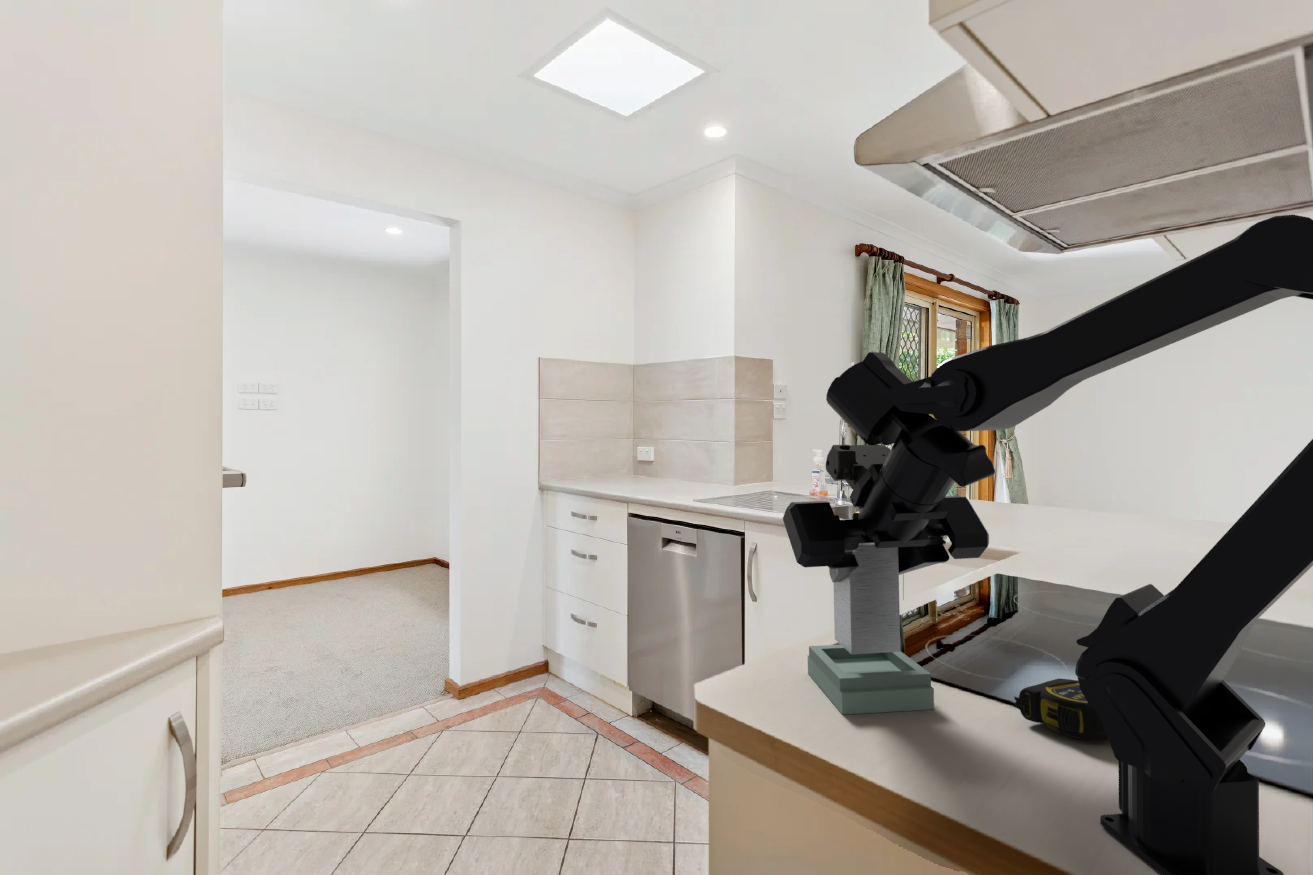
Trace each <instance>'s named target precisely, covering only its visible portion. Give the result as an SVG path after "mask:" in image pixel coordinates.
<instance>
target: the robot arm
mask: <svg viewBox="0 0 1313 875" xmlns="http://www.w3.org/2000/svg"><path fill="white" fill-rule="evenodd" d="M1290 297H1297V298H1303V299H1306V300H1313V219H1312V218H1311V217H1308V216H1303V215H1297V214H1285V215H1275V216H1272V217H1270V218H1266V219H1263V220H1260V221H1257V222H1256V223H1255V224H1252V225H1251V226H1250V227H1248V228H1247V229H1245V230H1243V232H1242V233H1241V234H1238V235H1237V236H1236V237H1235V238H1233V239H1230V240H1229V241H1227V242H1225V243H1223V244H1221V245H1219V246H1217V247H1215V248H1213V249H1211V250H1209V251H1208V250H1207V252H1205V253H1202V254H1200V255H1198V256H1196V257H1194V258H1192V259H1190V260H1188V261H1185V262H1184V263H1182V264H1180V265H1178V266H1175V267H1174V268H1171V269H1170V270H1168V271H1166V272H1164V273H1161V274H1160V275H1158V276H1155V277H1153V278H1151V279H1149V280H1148V281H1145V282H1143V283H1141V284H1138V285H1137V286H1135V287H1133V288H1131V289H1129V290H1127V291H1124V292H1123V293H1121V294H1119V295H1117V296H1115V297H1112V298H1111V299H1108V300H1106V301H1104V302H1102V303H1100V304H1098V305H1096V306H1094V307H1092V308H1090V309H1088V310H1085V312H1082V313H1080V314H1077V315H1075V316H1074V317H1071V318H1070V319H1068V320H1065V321H1064V322H1062V323H1059V324H1058V325H1055V326H1053V327H1052V328H1049V329H1047V330H1045V331H1044V332H1041V333H1037V334H1035V335H1031V336H1028V337H1024V338H1019V339H1015V340H1010V341H1006V342H1001V343H997V344H992V345H988V346H985V347H982V348H979V349H975V350H972V351H968V352H965V353H962V354H960V355H956V356H952V357H950V358H948V359H945V360H943V361H942V362H941V363H940V364H939V365H937V366H936V367H935V369H934V370H932V372H931V373H930V374H931V375H930V376H927V377H925V378H921V379H918V380H914V381H913V380H911V378H910V377H908V376H907V375H906V374H905V373H904V372H903V371H902V370H900V369H899V368H898V367H897V366H896V364H895V363H894V361H893V360H892V359H891V358H890V357H889V356H888V355H887V354H886V353H884V352H877V351H876V352H875V351H869V352H868V353H867V354H866V356H865V357H864V359H863V360H862V361H860V362H857V363H855V364H853V365H852V366H850V367H848V368H847V369H846V370H845V371H843V373H842V374H840V375H839V376H837V377H835V378H834V379H833V380H832V382H831V383H830V385H829V386H828V389H827V392H826V403H827V404H828V406H830V407H831V408H832V409H833V411H834V412H836V414H837V415H838V416H839V417H840V418H841V419H842V420H843V421H844V422H845V423H846V425H847V426H849V427H850V428H851V429H852V431H853V432H854V433H855V434H856V435H857V436H858V437H859V438H860V439H861V440H862V441H863V442H864V443H865V444H856V445H855V444H854V445H853V444H852V445H849V444H832V446H831V448H830V450H829V452H828V453H827V457H826V461H825V470H826V473H828V475H829V476H830V477H831V478H832V480H833V481H834V482H841V481H845V482H846V483H847V484H848V486H849V487H851V489H852V492H851V493H850V495H849V500H850V501H851V504H852V507H854V508H856V507H857V508H858V510H859V513H855V512H854V513H852V515H851V518H852V519H851V518H850V519H841V518H840V516H839V514H835V513H834V511H833V510H834V509H832V508H833V507H832V505H831V503H830V502H829V501H825V500H819V501H818V500H814V501H812V500H811V501H791V502H790V503H789V504H788V506H787V507H786V509H785V511H784V514H783V517H782V521H783V525H784V527H785V530H786V534H787V536H788V540H789V543H790V545H791V548H792V551H793V555H794V557H795V558H794V559H795V560H796V563H797V564H798V565H800V566H801V567H803V568H817V567H828V569H829V571H828V572H829V577H830V579H831V582H832V583H833V582H838V581H839V580H841V579H843V578H844V577H845V576H847V575H848V574H849V573H851V572H852V571H853V570H855V569H856V568H857V567H858V566H859V565H858V562H857V560H856V558H855V555H854V552H855V551H856V550H857V548H858V545H874V544H875V546H876V548H894V547H898V564H899V576H900V575H903V574H907V573H909V572H912V571H913V572H914V571H916V570H919V569H923V568H926V567H931V566H934V565H938V564H944V563H947V562H948V561H949V560H950V556H951V558H953V559H954V560H962V559H978V558H979V559H980V557H981V556H982V555H983V553H984V552H985V551H986V549H987V548H988V547H989V543H990V534H989V532H988V530H987V529H986V527H985V525H984V524H983V522H982V521H981V518H980V517H979V515H978V513H977V512H976V510H975V509H974V507H973V506H972V503H971V502H970V500H969V499H968V497H967V496H961V495H948V493H949V492H950V490H951V488H952V487H953V486H954V484H955V483H956V484H957V485H958V486H959V487H960V488H961V487H962V488H964V487H967V486H969V485H970V486H971V485H972V484H975V483H978V482H980V481H982V480H985V479H987V478H990V477H992V476H994V475H995V473H996V469H995V467H994V464H993V461H992V460H991V459H990V458H989V456H988V454H987V448H986V446H985V445H983V444H979V445H976V444H974V443H973V442H972V441H971V440H970V439H969V438H967V436H965V434H963V433H962V432H979V431H983V432H984V431H1002V430H1008V429H1011V428H1014V427H1016V426H1018V425H1019V424H1022V423H1023V422H1024V421H1026V420H1028V419H1029V418H1030V417H1032V416H1034V415H1036V414H1037V413H1039V412H1041V411H1042V410H1045V409H1047V408H1048V407H1050V406H1051V405H1052V404H1053V403H1054V402H1055V401H1057V400H1058V399H1059V398H1060V397H1062V396H1063V395H1064V394H1065V393H1067V391H1069V390H1070V389H1072V388H1074V387H1075V386H1077V385H1078V384H1080V383H1081V382H1083V381H1085V380H1088V379H1089V378H1092V377H1094V376H1097V375H1100V374H1102V373H1104V372H1106V371H1109V370H1111V369H1114V368H1116V367H1119V366H1121V365H1124V364H1126V363H1128V362H1131V361H1133V360H1136V359H1139V358H1140V357H1143V356H1146V355H1148V354H1151V353H1153V352H1155V351H1158V350H1160V349H1163V348H1165V347H1167V346H1170V345H1172V344H1175V343H1177V342H1180V341H1182V340H1185V339H1187V338H1189V337H1192V336H1195V335H1197V334H1199V333H1201V332H1203V331H1206V330H1209V329H1211V328H1214V327H1216V326H1218V325H1221V324H1223V323H1226V322H1228V321H1230V320H1232V319H1233V320H1234V319H1236V318H1238V317H1240V316H1243V315H1246V314H1247V313H1250V312H1253V311H1255V310H1258V309H1259V308H1263V307H1264V306H1267V305H1269V304H1272V303H1274V302H1276V301H1279V300H1283V299H1286V298H1290ZM891 445H892V447H891V448H890V447H887V446H891ZM947 539H949V541H950V543H951V545H950V546H949V547H948V548H947V549H946V547H945V545H946V543H947V541H946V540H947ZM949 554H950V555H949ZM1312 567H1313V438H1312V439H1311V440H1310V441H1309V442H1308V443H1307V444H1306V445H1305V446H1304V447H1303V449H1302V450H1301V451H1300V452H1299V453H1297V455H1296V456H1295V457H1294V459H1293V460H1291V462H1290V463H1288V465H1287V466H1286V467H1285V468H1284V469H1283V471H1282V472H1280V474H1279V475H1278V476H1277V477H1276V478H1275V479H1274V480H1273V481H1272V483H1271V484H1270V485H1269V486H1268V487H1267V488H1266V489H1265V490H1264V491H1263V492H1261V494H1260V495H1259V496H1258V497H1257V499H1256V500H1255V501H1254V502H1253V503H1252V504H1251V505H1250V506H1249V508H1247V510H1246V511H1245V512H1244V513H1243V514H1242V515H1241V516H1240V517H1239V518H1238V519H1237V520H1236V521H1235V522H1234V524H1233V525H1232V526H1231V527H1230V528H1229V529H1228V530H1227V531H1226V533H1225V534H1223V536H1222V537H1221V538H1220V539H1219V540H1218V541H1217V542H1216V543H1215V544H1214V545H1213V547H1212V548H1211V549H1210V550H1209V551H1208V552H1207V553H1206V554H1205V555H1204V556H1203V557H1202V558H1201V560H1200V561H1198V563H1197V564H1196V565H1195V566H1194V567H1193V568H1192V569H1191V570H1190V572H1188V573H1187V575H1186V576H1185V577H1184V578H1183V579H1182V580H1181V581H1180V582H1179V584H1177V585H1176V587H1175V588H1173V589H1172V590H1170V591H1169V592H1168V593H1166V594H1165V595H1164V594H1163V593H1162V592H1161V591H1160V590H1159V589H1158V588H1157V587H1155V585H1153V584H1152V583H1149V584H1146V585H1144V586H1142V587H1139V588H1137V589H1136V588H1135V589H1134V590H1132V591H1130V592H1127V593H1125V594H1123V595H1119V596H1118V597H1116V598H1114V600H1113V601H1112V602H1111V604H1110V606H1109V607H1108V608H1107V610H1106V612H1105V614H1104V616H1103V617H1102V620H1101V622H1099V624H1098V625H1097V627H1096V628H1095V629H1094V630H1093V631H1092V632H1091V633H1090V632H1089V634H1086V635H1084V636H1082V637H1080V638H1078V639H1076V644H1077V645H1078V646H1081V647H1086V649H1085V650H1084V651H1083V652H1082V653H1081V654H1080V656H1079V657H1078V660H1077V661H1076V664H1075V670H1074V673H1075V676H1076V677H1077V681H1079V685H1080V690H1081V691H1082V693H1083V695H1084V697H1085V698H1086V700H1087V702H1088V704H1089V705H1090V706H1091V707H1092V708H1093V709H1094V710H1095V711H1096V712H1097V713H1098V714H1099V717H1100V719H1101V722H1102V725H1103V727H1104V730H1105V732H1106V735H1107V738H1108V739H1107V740H1108V743H1109V746H1110V748H1111V750H1112V754H1113V755H1114V758H1115V759H1116V760H1117V761H1118V762H1117V763H1118V767H1117V768H1118V808H1119V810H1120V811H1121V813H1112V814H1103V815H1100V817H1099V820H1100V821H1099V822H1100V825H1101V827H1103V828H1104V829H1105V830H1107V831H1108V832H1109V833H1111V834H1112V835H1113V836H1114V837H1115V838H1117V839H1118V840H1120V841H1121V842H1122V843H1124V845H1125V846H1127V847H1128V848H1130V850H1132V851H1133V852H1134V853H1136V854H1137V855H1138V856H1139V857H1141V858H1142V859H1143V860H1145V861H1146V862H1147V863H1148V864H1150V866H1152V867H1153V868H1154V869H1156V870H1157V871H1158V872H1159V873H1161V874H1162V875H1285V874H1284V872H1283V871H1282V870H1281V869H1279V868H1277V867H1275V865H1273V864H1271V863H1270V862H1268V861H1266V860H1265V859H1264V858H1262V857H1260V786H1259V785H1260V779H1259V778H1258V777H1256V776H1255V775H1252V774H1251V773H1249V772H1248V768H1247V766H1246V764H1245V763H1244V762H1243V761H1242V760H1241V758H1242V757H1243V756H1244V755H1245V754H1246V753H1247V752H1248V751H1250V750H1252V749H1253V748H1254V747H1255V744H1256V743H1257V741H1258V739H1259V738H1260V736H1261V735H1262V733H1263V731H1264V729H1265V727H1266V721H1265V719H1264V718H1263V717H1262V716H1260V714H1259V713H1258V712H1256V710H1254V709H1253V708H1252V706H1250V705H1249V703H1247V702H1246V701H1245V700H1244V699H1243V698H1242V697H1241V696H1240V694H1238V693H1237V692H1236V691H1235V690H1234V689H1233V688H1232V687H1231V686H1230V685H1229V684H1228V683H1227V682H1226V681H1225V680H1224V678H1225V677H1226V675H1227V674H1228V672H1229V670H1230V669H1231V667H1232V666H1233V664H1234V663H1235V661H1236V659H1237V658H1238V657H1237V656H1239V653H1240V651H1241V650H1242V647H1243V646H1244V643H1245V641H1246V639H1247V637H1248V636H1249V634H1250V631H1251V630H1252V629H1253V626H1254V625H1255V623H1256V622H1257V620H1258V619H1259V618H1261V617H1262V615H1264V614H1265V613H1266V612H1267V611H1268V610H1269V608H1271V607H1272V606H1273V605H1274V604H1275V603H1276V602H1277V601H1278V600H1279V599H1280V598H1281V597H1282V596H1283V595H1285V593H1286V592H1287V591H1288V590H1289V589H1290V588H1292V586H1294V585H1295V584H1296V582H1298V581H1299V579H1301V578H1302V577H1303V576H1304V575H1306V573H1307V572H1308V571H1309V570H1310V569H1312Z"/></svg>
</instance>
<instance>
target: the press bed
mask: <svg viewBox="0 0 1313 875" xmlns="http://www.w3.org/2000/svg"><path fill="white" fill-rule="evenodd" d="M807 674H808V676H810V678H811V679H812V681H814V682H815V684H816V685H817V687H819V689H820V690H821V691H822V692H823V694H825V696H826V697H827V698H828V699H829V701H830V702H831V703H832V704H833V706H834V707H835V708H836V709H837V710H838V711H839V712H840V713H841V715H854V714H855V715H856V714H857V715H858V714H875V713H891V712H893V713H894V712H908V711H910V712H911V711H928V710H935V691H934V689H935V688H934V687H933V686H932V673H931V672H929V671H928V670H927V669H925V668H923V667H922V666H921V665H920V664H919V663H917V662H915V661H914V660H913V659H912V658H910V657H909V656H908V655H906V654H905V653H904V652H903V651H901V650H900V652H886V653H868V654H850V653H849V652H848V651H847V650H846V649H845V648H844V647H843V646H841V645H840V644H826V645H825V644H824V645H809V646H808V655H807Z"/></svg>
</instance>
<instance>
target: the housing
mask: <svg viewBox="0 0 1313 875" xmlns="http://www.w3.org/2000/svg"><path fill="white" fill-rule="evenodd" d="M859 511H860V510H859ZM859 511H855V512H854V513H859ZM854 555H855V558H856V560H857V562H858V565H859V566H858V567H857V568H856V569H855V570H853V571H852V572H851V573H849V574H848V575H847V576H845V577H844V578H843V579H841V580H839V581H838V582H832V583H833V618H834V619H833V621H834V624H833V626H834V640H835V642H837V643H838V645H841V646H843V647H844V648H845V649H846V650H847V651H848V652H849V653H850V654H868V653H886V652H900V651H901V622H900V620H901V618H900V617H901V615H900V614H901V613H900V612H901V611H900V610H901V609H900V575H899V564H898V547H894V548H876V546H875V544H874V545H858V548H857V550H856V551H855V552H854Z"/></svg>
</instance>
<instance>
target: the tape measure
mask: <svg viewBox="0 0 1313 875" xmlns="http://www.w3.org/2000/svg"><path fill="white" fill-rule="evenodd" d="M1013 698H1014V701H1015V702H1014V706H1015V708H1017V710H1019V711H1020V714H1021V716H1022V717H1023V718H1024V719H1025V720H1027V721H1030V722H1033V723H1039V724H1042V725H1044V726H1045V727H1047V728H1048V729H1050V730H1052V731H1053V732H1056V733H1059V734H1061V735H1065V736H1067V737H1070V738H1071V737H1072V738H1074V739H1075V738H1076V739H1081V740H1088V741H1090V740H1091V741H1107V740H1108V738H1107V735H1106V732H1105V730H1104V727H1103V725H1102V722H1101V719H1100V717H1099V714H1098V713H1097V712H1096V711H1095V710H1094V709H1093V708H1092V707H1091V706H1090V705H1089V704H1088V702H1087V700H1086V698H1085V697H1084V695H1083V693H1082V691H1081V690H1080V685H1079V681H1078V679H1077V680H1075V679H1069V678H1067V679H1066V678H1055V679H1051V680H1048V681H1045V682H1041V683H1039V684H1036V685H1035V684H1034V685H1032V686H1031V685H1030V686H1027V687H1024V688H1023V689H1021V690H1020V691H1019V695H1018V697H1017V696H1014V697H1013Z"/></svg>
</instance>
